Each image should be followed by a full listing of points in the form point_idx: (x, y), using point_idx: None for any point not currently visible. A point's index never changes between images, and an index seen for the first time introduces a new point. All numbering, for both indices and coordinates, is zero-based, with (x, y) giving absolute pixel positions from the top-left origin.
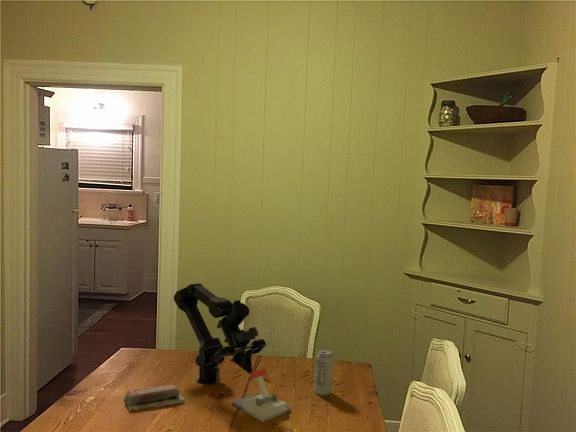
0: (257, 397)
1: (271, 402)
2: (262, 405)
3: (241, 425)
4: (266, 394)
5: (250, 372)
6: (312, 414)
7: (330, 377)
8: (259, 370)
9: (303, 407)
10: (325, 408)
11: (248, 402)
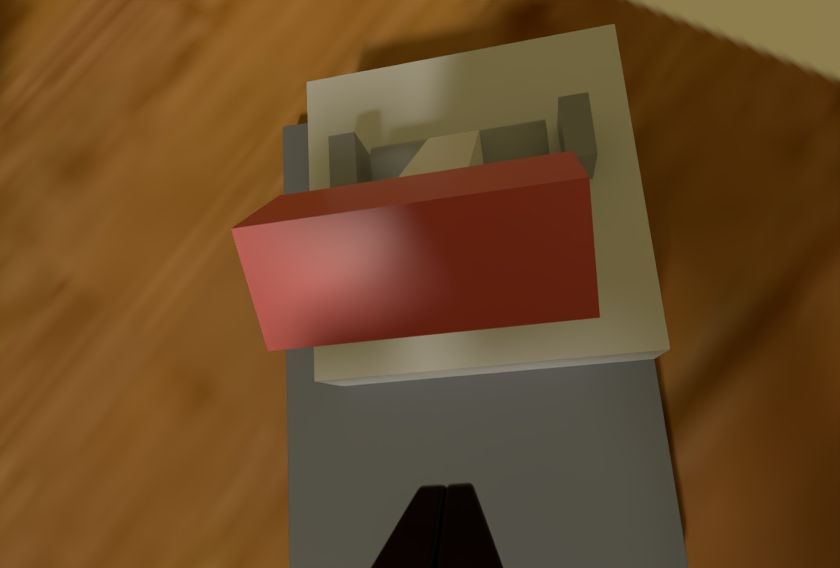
0: None
1: None
2: None
3: (812, 107)
4: (452, 138)
5: (469, 485)
6: (197, 38)
7: None
8: (391, 202)
9: (167, 159)
10: (64, 78)
11: (642, 262)
